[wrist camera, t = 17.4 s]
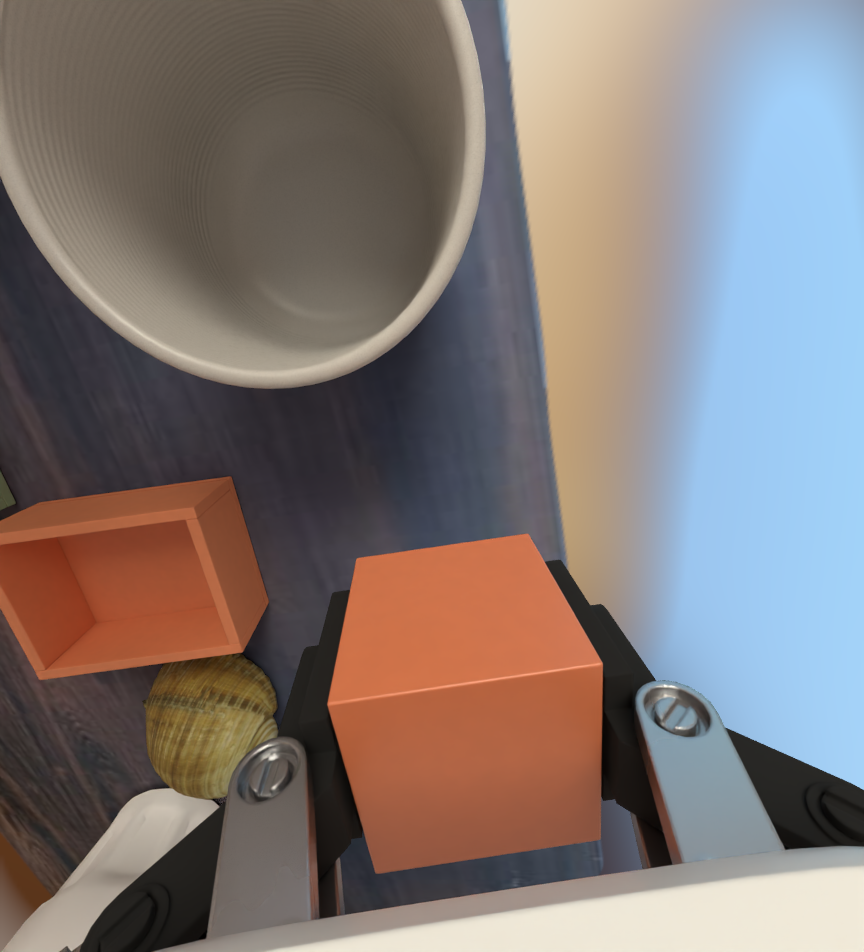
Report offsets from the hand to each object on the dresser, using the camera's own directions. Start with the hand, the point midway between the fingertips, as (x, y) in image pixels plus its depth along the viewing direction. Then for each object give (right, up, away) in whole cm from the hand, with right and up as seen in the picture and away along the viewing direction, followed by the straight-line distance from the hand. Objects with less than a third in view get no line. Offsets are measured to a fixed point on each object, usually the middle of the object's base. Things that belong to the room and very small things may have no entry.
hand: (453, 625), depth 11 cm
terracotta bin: (-17, -1, +15) cm, 23 cm away
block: (0, 0, 0) cm, 0 cm away
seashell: (-15, -11, +19) cm, 27 cm away
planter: (-6, +16, +10) cm, 20 cm away
